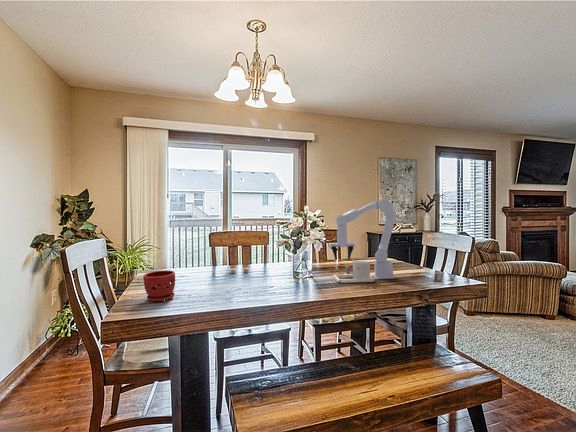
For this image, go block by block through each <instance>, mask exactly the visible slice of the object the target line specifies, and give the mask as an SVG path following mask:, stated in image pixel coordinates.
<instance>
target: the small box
mask: <svg viewBox="0 0 576 432" xmlns="http://www.w3.org/2000/svg"><path fill="white" fill-rule="evenodd" d="M370 265H371V264H370V261H368V260H353V261H352V274H353V277H352V279H370V276H371V271H370V270H371V268H370V267H371V266H370Z"/></svg>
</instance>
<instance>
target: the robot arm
mask: <svg viewBox="0 0 576 432" xmlns="http://www.w3.org/2000/svg"><path fill="white" fill-rule="evenodd" d="M371 210H380V211H382V212H383V214H384V215H385V217H386V218H385V219H386V220H385V222H384V227H383V230H382V231H383V232H382V235H381V239H380V242H379V245H378V249H377V251H376V252H375V254H374V259H375V260H374V275H373V274H372V276H371V277H372V278H374V279H377V280H388V279H389V280H391V279H393V280H394V265H393V264H394V263H393V262H392V261H388V259H387V258H388V257H389V256H388V255H389V254H388V249H389V243H390V239H391V236H392V232H393V228H394V224H395V220H396V217H397V214H396V212H395V209H394V206H393V203H391V201H389V199H386V198H381V199H379V200H378V199H377V200H376V201H372V202H370V203H368V204H366V205H365V206H363V207H360V208H359V209H355V208H351V209H349V211H347V212H343V213H342V215H339V216H337V218H336V219H335V222H336V240H337V241H336V242H335V243H329V248H330V249H331V250H332V253H333V256H334V260H335V261H337V260H338V257H337V256H338V255H337V254H338V253H337V252H338V248H345V247H346V248H347V249H346V250H347V259H348V260H351V255H352V253H353V251H354V248H355V246H356V243H355V242H351V243H350V242H348V227H347V224H348V223H351V222H353V221H356V220H357V219H359V218H360V215H363V214H365V213H367V212H369V211H371Z"/></svg>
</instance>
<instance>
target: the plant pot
mask: <svg viewBox="0 0 576 432" xmlns="http://www.w3.org/2000/svg"><path fill="white" fill-rule="evenodd" d="M142 277H143V284H144V285H143V287H144V289H145V290H144V291H145V293H146V294H147V297H146V300H147V301H149V302H151V301H163V302H164V300H167V301H169V300H168V299H170V300H171V298H172V299H173V298H174V297H175V292H174V289H175V286H176V272H175V271H174V270H167V269H166V270H156V271H150V272H148V273H145V274H144V275H143V276H142Z"/></svg>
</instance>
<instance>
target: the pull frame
mask: <svg viewBox="0 0 576 432" xmlns="http://www.w3.org/2000/svg"><path fill="white" fill-rule="evenodd" d="M344 269H345V271H344V273H343V274H332V277H333V278H334V280H335V282H337V283H341V284H342V283H343V284H344V283H370V282H375V281H376V280H375V279H376V278H375V277H373V276H371V275H370V279H353V273H351V267H350V266H349V265H348V266H347V265H345V267H344ZM341 278H343V279H341ZM344 278H348V279H344Z"/></svg>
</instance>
